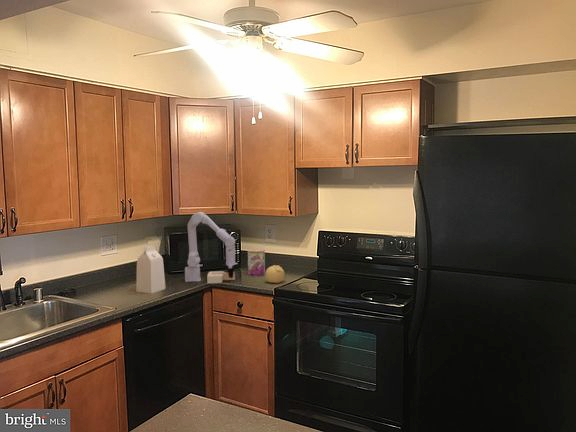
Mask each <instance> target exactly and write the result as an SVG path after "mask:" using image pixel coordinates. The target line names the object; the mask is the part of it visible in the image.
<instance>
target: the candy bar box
mask: <svg viewBox="0 0 576 432" xmlns="http://www.w3.org/2000/svg"><path fill="white" fill-rule="evenodd" d="M265 252H266V251H265V249H248V250H247V275H248V276H264V275H265V273H266V268H265V267H266V258H265V256H266V253H265Z"/></svg>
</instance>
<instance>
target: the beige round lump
mask: <svg viewBox="0 0 576 432" xmlns="http://www.w3.org/2000/svg"><path fill="white" fill-rule="evenodd" d="M264 275H265V280H266V281H267V282H268V283H272V284H280V283H282V282H283V280H284V278H285V271H284V269H283V268H282V266H280V265H276V264H273V265H272V266H269V267H268V268H267V269H265V274H264Z"/></svg>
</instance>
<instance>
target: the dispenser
mask: <svg viewBox="0 0 576 432" xmlns="http://www.w3.org/2000/svg"><path fill="white" fill-rule="evenodd" d="M213 272H214V271H208V273H207V278H206V279H207V280H206V281H207V283H206V284H223V280H222V277H223V274H213ZM215 272H225V271H223V270H219V271H215Z"/></svg>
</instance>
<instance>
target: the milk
mask: <svg viewBox="0 0 576 432" xmlns="http://www.w3.org/2000/svg"><path fill="white" fill-rule="evenodd" d="M155 248H156V247H155V246H154V245H149V246H145V247H144V250H143V253H142V254H141V255H140V256H139V257H138V258H137V260H136V285H135V286H136V287H135V288H136V289H135V292H137V293H138V292H139V293H144V294H154V293H157V292H160V291H163V290H165V289H166V279H165V267H164V258H163V256H162V255H161V254H160V253H159V252H158V251H157V250H156V249H155Z"/></svg>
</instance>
